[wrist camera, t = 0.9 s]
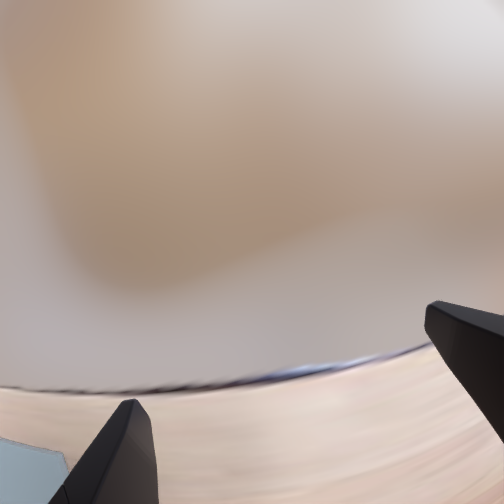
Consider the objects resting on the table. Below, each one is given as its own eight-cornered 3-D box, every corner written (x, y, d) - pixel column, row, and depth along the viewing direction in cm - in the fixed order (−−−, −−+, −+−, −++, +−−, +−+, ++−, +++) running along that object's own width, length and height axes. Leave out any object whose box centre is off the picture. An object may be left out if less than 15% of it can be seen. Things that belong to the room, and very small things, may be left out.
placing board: (62, 452, 19) (57, 456, 18) (95, 539, 17) (91, 543, 16) (-25, 428, 19) (-31, 430, 18) (3, 507, 16) (-1, 510, 15)
